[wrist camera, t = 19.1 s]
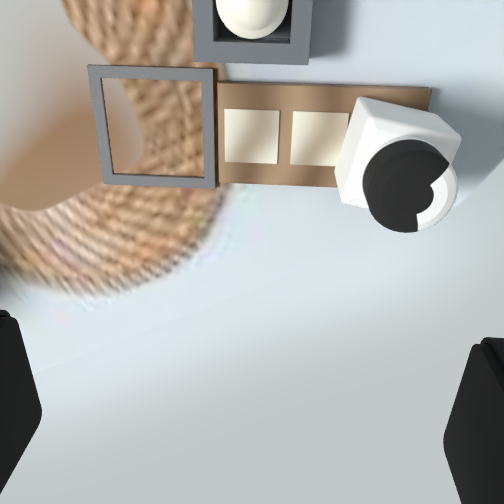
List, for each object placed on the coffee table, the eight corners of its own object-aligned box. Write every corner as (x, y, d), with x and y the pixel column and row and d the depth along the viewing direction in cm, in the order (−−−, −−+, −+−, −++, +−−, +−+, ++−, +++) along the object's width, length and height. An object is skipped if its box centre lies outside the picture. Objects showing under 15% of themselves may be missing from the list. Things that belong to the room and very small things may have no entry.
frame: (105, 182, 48) (103, 184, 47) (88, 64, 42) (87, 65, 42) (215, 187, 47) (214, 188, 47) (213, 68, 42) (212, 69, 41)
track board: (220, 177, 47) (218, 182, 45) (219, 80, 42) (217, 83, 41) (408, 185, 46) (411, 191, 45) (427, 87, 41) (431, 90, 40)
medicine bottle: (332, 172, 44) (346, 232, 34) (357, 94, 41) (381, 134, 30) (407, 189, 44) (444, 253, 34) (438, 113, 41) (489, 159, 31)
